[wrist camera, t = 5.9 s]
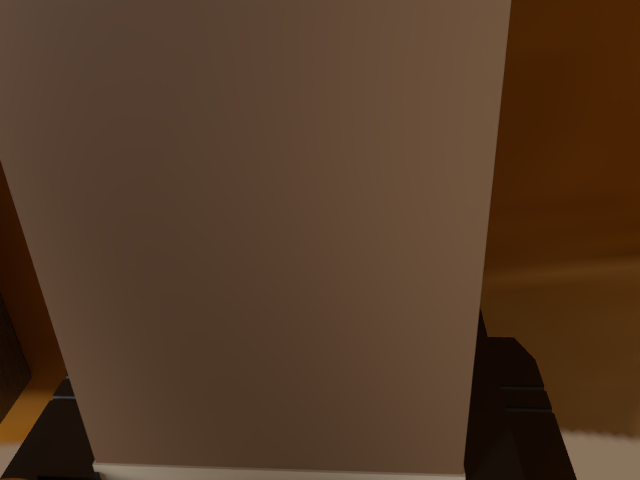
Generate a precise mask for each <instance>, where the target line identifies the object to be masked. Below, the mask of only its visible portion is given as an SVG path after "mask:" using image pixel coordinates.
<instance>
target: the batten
mask: <svg viewBox="0 0 640 480" xmlns="http://www.w3.org/2000/svg"><path fill="white" fill-rule="evenodd" d="M510 9H511V0H0V161H1V164H2V167H3V170H4V173H5V176H6V180H7V183H8V186H9V189H10V192H11V195H12V199H13V202H14V205H15V208H16V211H17V214H18V218H19V221H20V224H21V227H22V230H23V233H24V237H25V240H26V243H27V246H28V249H29V252H30V256H31V259H32V262H33V265H34V268H35V271H36V275H37V278H38V281H39V284H40V287H41V290H42V293H43V297H44V300H45V303H46V306H47V309H48V312H49V316H50V319H51V322H52V325H53V328H54V331H55V335H56V338H57V341H58V344H59V347H60V350H61V354H62V357H63V360H64V363H65V366H66V369H67V373H68V376H69V379H70V382H71V385H72V388H73V392H74V395H75V398H76V401H77V404H78V407H79V411H80V414H81V417H82V420H83V423H84V426H85V430H86V433H87V436H88V439H89V442H90V445H91V449H92V452H93V455H94V458H95V461H94V463H93V469H94V472H99V474H100V477H101V480H465V478H466V477H465V470H464V464H463V463H464V454H465V444H466V434H467V425H468V415H469V405H470V396H471V386H472V376H473V367H474V357H475V347H476V338H477V328H478V318H479V309H480V299H481V289H482V280H483V270H484V260H485V251H486V241H487V231H488V222H489V212H490V202H491V193H492V183H493V173H494V164H495V154H496V144H497V135H498V125H499V115H500V106H501V96H502V86H503V77H504V67H505V57H506V48H507V38H508V28H509V19H510Z"/></svg>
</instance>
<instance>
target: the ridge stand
mask: <svg viewBox="0 0 640 480" xmlns="http://www.w3.org/2000/svg"><path fill="white" fill-rule="evenodd" d="M30 380H31V375H30V372H29V370H28V367H27V364H26V362H25V359H24V356H23V354H22V351H21V348H20V346H19V343H18V340H17V338H16V335H15V332H14V330H13V327H12V324H11V322H10V319H9V316H8V314H7V311H6V308H5V306H4V303H3V300H2V298H1V295H0V424H1V422H2V421H3V419H4V418H5V416H6V415H7V413H8V412H9V410H10V409H11V408H12V406H13V405H14V403H15V402H16V400H17V399H18V397H19V396H20V394H21V393H22V391H23V390H24V388H25V387H26V386H27V384H28V383H29V381H30Z"/></svg>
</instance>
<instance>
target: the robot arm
mask: <svg viewBox="0 0 640 480" xmlns="http://www.w3.org/2000/svg"><path fill="white" fill-rule="evenodd" d="M94 461H95V458H94V455H93V452H92V449H91V445H90V442H89V439H88V436H87V433H86V430H85V426H84V423H83V420H82V417H81V414H80V411H79V407H78V404H77V401H76V398H75V395H74V392H73V388H72V385H71V382H70V379H69V376H68V373H67V374H66V380H63V381H62V382H61V384H60V385H59V387H58V388H57V390H56V392H55V393H54V395H53V400H52V401H49V403H48V404H47V406H46V407H45V409H44V410H43V412H42V414H41V415H40V417H39V418H38V420H37V421H36V423H35V425H34V426H33V428H32V429H31V431H30V432H29V434H28V436H27V437H26V439H25V440H24V442H23V443H22V445H21V447H20V448H19V450H18V451H17V453H16V454H15V456H14V458H13V459H12V461H11V462H10V464H9V465H8V467H7V468H6V470H5V472H4V473H3V475H2V476H1V478H0V480H101V477H100V474H99V472H94V469H93V463H94ZM463 464H464V470H465V477H466V478H465V480H577V479H576V476H575V473H574V470H573V467H572V464H571V462H570V459H569V456H568V453H567V450H566V447H565V445H564V441H563V438H562V436H561V433H560V430H559V427H558V424H557V421H556V418H555V415H554V413H552V407H551V404H550V401H549V398H548V395H547V392H546V391H544V384H543V381H542V378H541V375H540V372H539V369H538V366H537V364H536V361H535V359H534V358H533V357H532V356H531V355H530V354H529V353H528V352H527V351H526V350H525V349H524V348H523V347H522V346H521V344H520V343H519V342H518V341H517V340H516V339H515V338H512V337H488V336H487V332H486V329H485V325H484V321H483V317H482V313H481V310H480V309H479V318H478V328H477V338H476V347H475V357H474V367H473V376H472V386H471V396H470V405H469V415H468V425H467V434H466V444H465V454H464V463H463Z"/></svg>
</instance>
